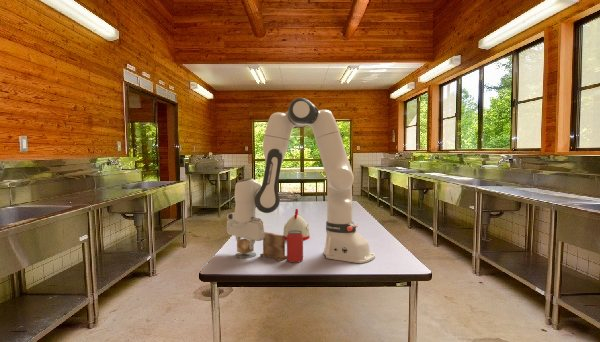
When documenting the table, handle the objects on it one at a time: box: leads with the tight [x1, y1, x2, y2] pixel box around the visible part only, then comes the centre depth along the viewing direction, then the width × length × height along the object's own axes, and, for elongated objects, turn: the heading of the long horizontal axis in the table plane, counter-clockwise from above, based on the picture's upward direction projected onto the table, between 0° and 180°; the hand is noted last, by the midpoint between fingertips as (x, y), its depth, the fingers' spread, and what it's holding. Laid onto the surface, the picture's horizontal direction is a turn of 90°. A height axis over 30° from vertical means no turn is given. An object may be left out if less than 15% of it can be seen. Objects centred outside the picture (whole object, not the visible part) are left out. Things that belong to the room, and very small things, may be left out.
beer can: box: [286, 230, 304, 264], centre depth 139 cm, size 7×7×12 cm
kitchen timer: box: [282, 208, 311, 241], centre depth 177 cm, size 14×14×15 cm
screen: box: [259, 231, 287, 262], centre depth 143 cm, size 11×5×10 cm, turn 52°
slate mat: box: [234, 251, 257, 259], centre depth 147 cm, size 9×9×1 cm
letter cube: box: [236, 238, 255, 254], centre depth 146 cm, size 5×5×5 cm
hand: (245, 247), depth 147 cm, fingers closed on letter cube, 5 cm apart
